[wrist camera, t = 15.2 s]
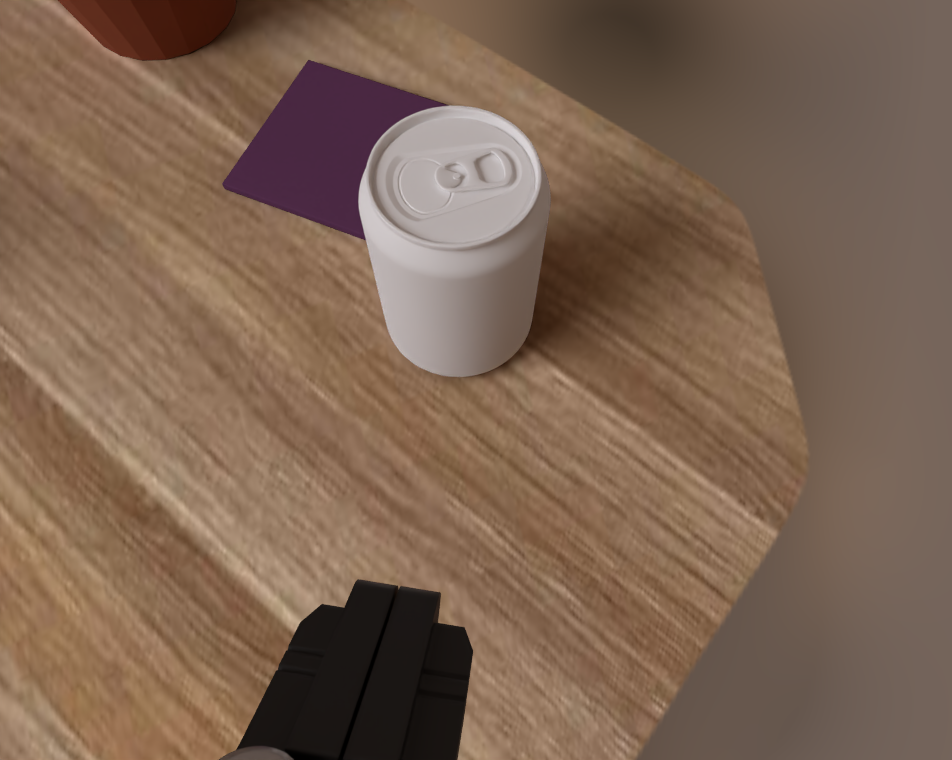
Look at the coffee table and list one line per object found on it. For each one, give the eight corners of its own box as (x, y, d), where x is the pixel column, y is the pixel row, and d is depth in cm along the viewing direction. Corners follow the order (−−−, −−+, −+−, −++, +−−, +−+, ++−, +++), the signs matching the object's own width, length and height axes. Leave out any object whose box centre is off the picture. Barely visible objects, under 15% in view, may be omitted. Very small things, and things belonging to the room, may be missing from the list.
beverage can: (372, 272, 40) (335, 118, 29) (508, 240, 41) (520, 80, 30) (405, 398, 37) (376, 279, 26) (550, 361, 38) (581, 231, 27)
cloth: (476, 119, 45) (476, 114, 45) (403, 254, 41) (402, 249, 41) (310, 65, 47) (308, 59, 46) (224, 189, 43) (221, 183, 42)
